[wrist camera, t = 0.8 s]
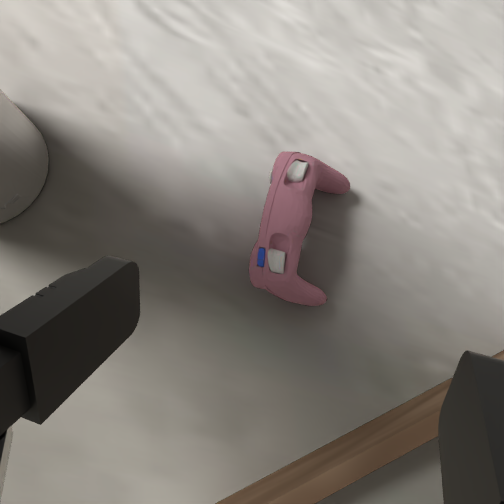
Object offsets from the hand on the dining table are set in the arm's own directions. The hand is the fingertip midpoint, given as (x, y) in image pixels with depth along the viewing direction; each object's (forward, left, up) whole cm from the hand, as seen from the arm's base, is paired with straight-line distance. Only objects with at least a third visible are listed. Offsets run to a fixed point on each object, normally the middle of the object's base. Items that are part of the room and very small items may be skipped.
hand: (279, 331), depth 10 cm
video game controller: (-5, +6, -20) cm, 21 cm away
